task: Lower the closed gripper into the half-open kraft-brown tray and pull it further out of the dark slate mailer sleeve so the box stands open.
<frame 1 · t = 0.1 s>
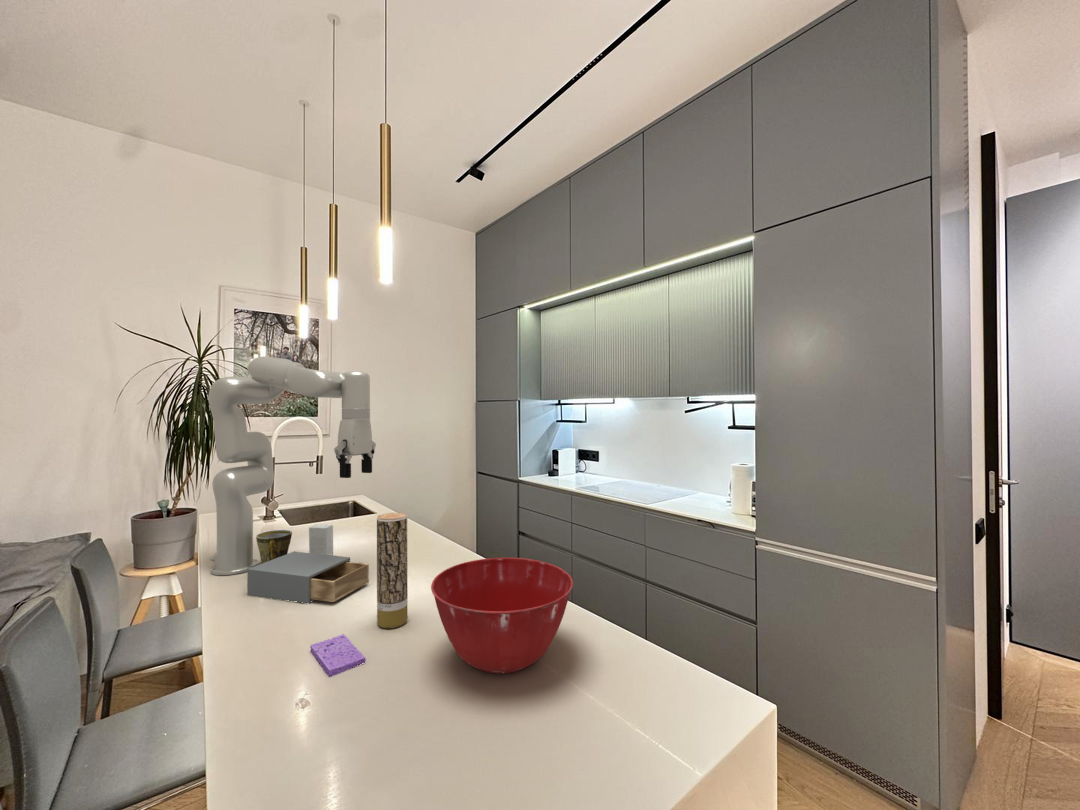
hand: (356, 475, 133), 31 cm above the counter, tool pointing down, fingers open, 9 cm apart
ceramic cup: (273, 567, 148), on the counter
mixing bowl: (503, 656, 95), on the counter
skincare box: (321, 563, 151), on the counter
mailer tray: (322, 578, 128), point 3 cm above the counter, slide at 7.0 cm
paper tube: (392, 623, 109), on the counter
mailer sleeve: (300, 588, 130), on the counter
sponges: (337, 660, 94), on the counter
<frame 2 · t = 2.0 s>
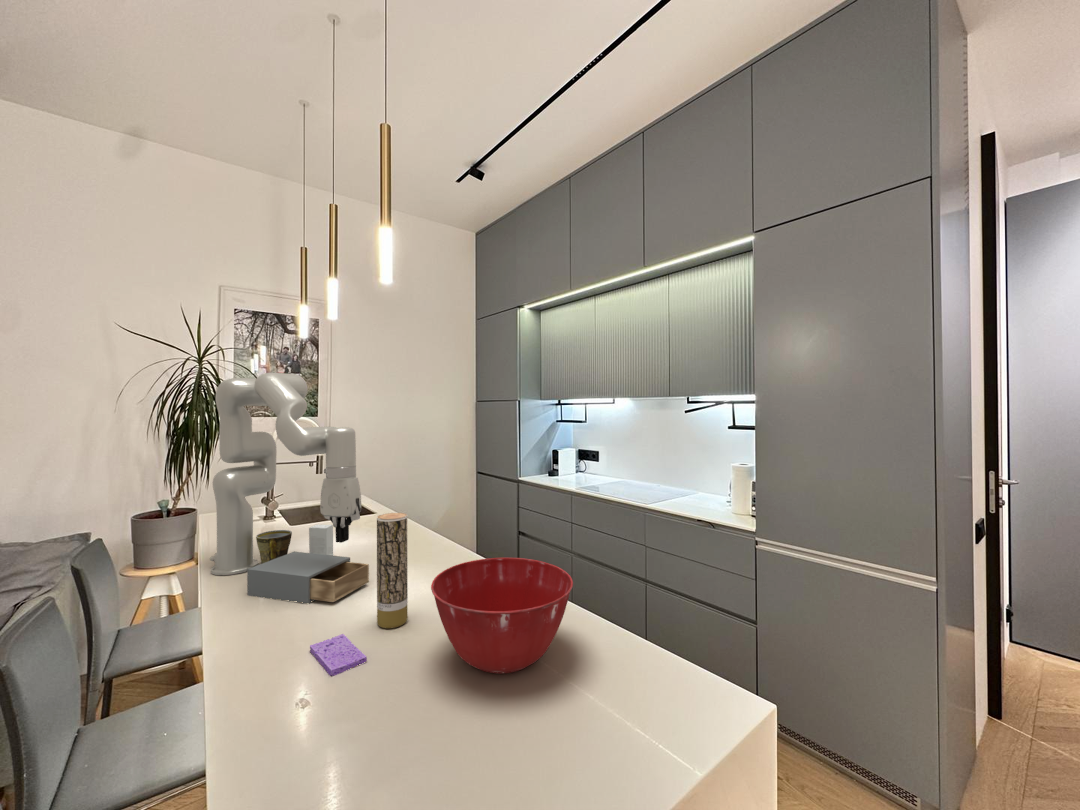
hand: (342, 540, 126), 14 cm above the counter, tool pointing down, fingers closed
nothing on the counter moved.
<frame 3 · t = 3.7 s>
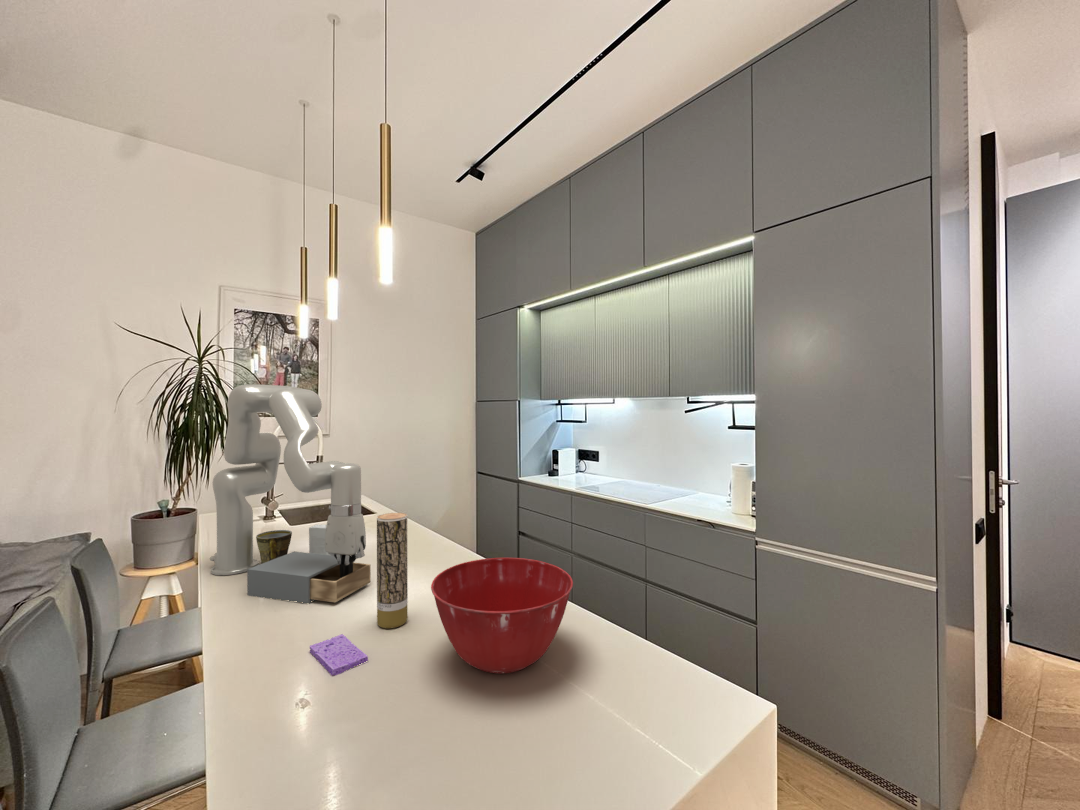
hand: (346, 577, 126), 4 cm above the counter, tool pointing down, fingers closed
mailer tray: (324, 578, 128), point 3 cm above the counter, slide at 7.6 cm, touching gripper
everything else where it was.
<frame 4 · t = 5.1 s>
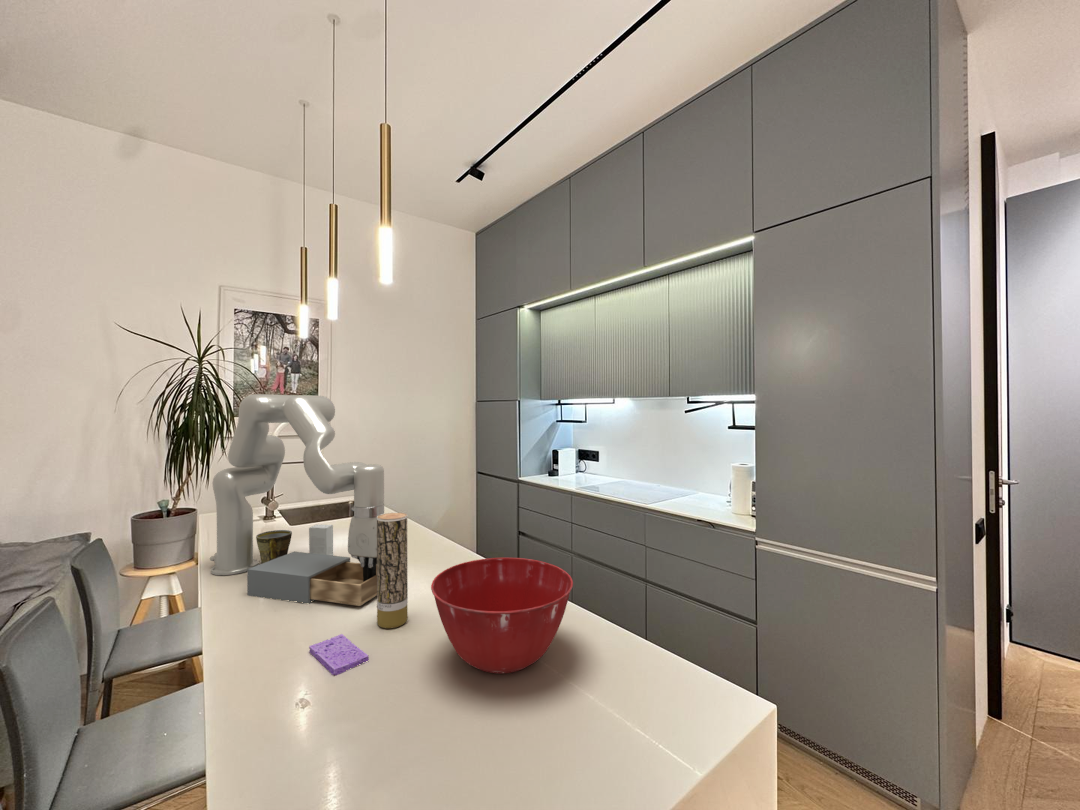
hand: (369, 580, 124), 4 cm above the counter, tool pointing down, fingers closed
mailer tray: (347, 581, 126), point 3 cm above the counter, slide at 14.9 cm, touching gripper
everything else where it was.
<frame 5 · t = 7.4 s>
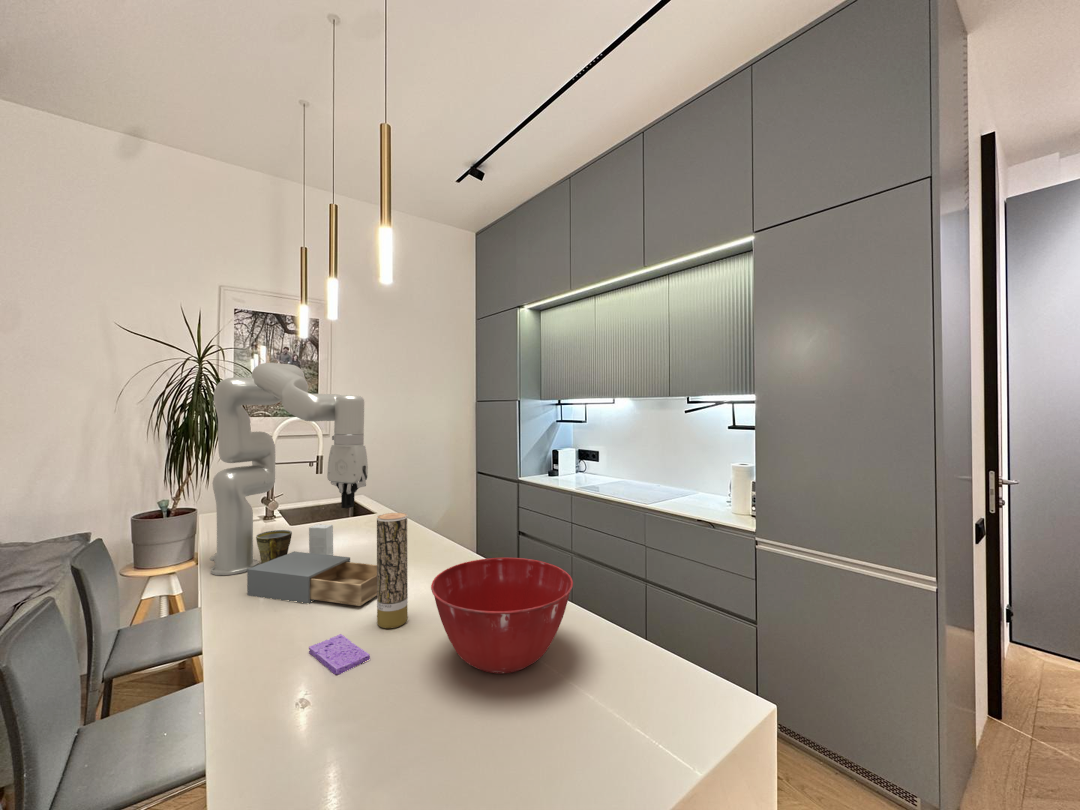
hand: (347, 507, 128), 23 cm above the counter, tool pointing down, fingers closed
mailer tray: (347, 581, 126), point 3 cm above the counter, slide at 14.9 cm
everything else where it was.
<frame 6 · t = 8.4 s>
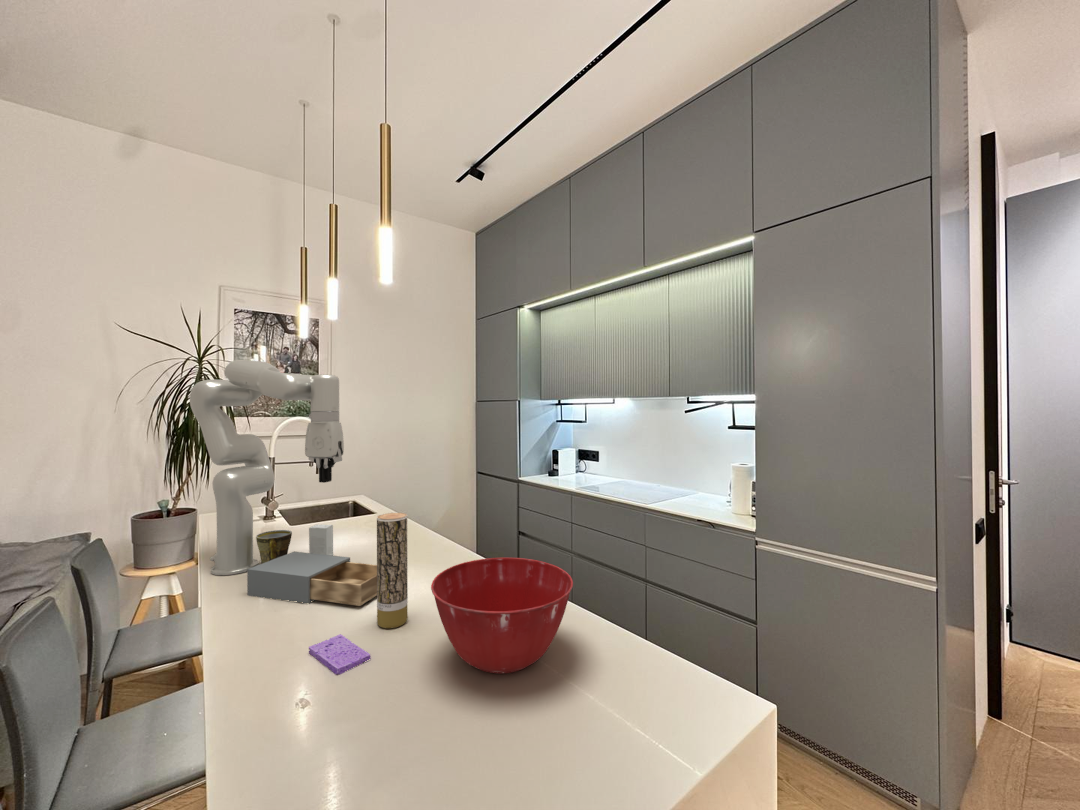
hand: (325, 481, 134), 29 cm above the counter, tool pointing down, fingers closed
nothing on the counter moved.
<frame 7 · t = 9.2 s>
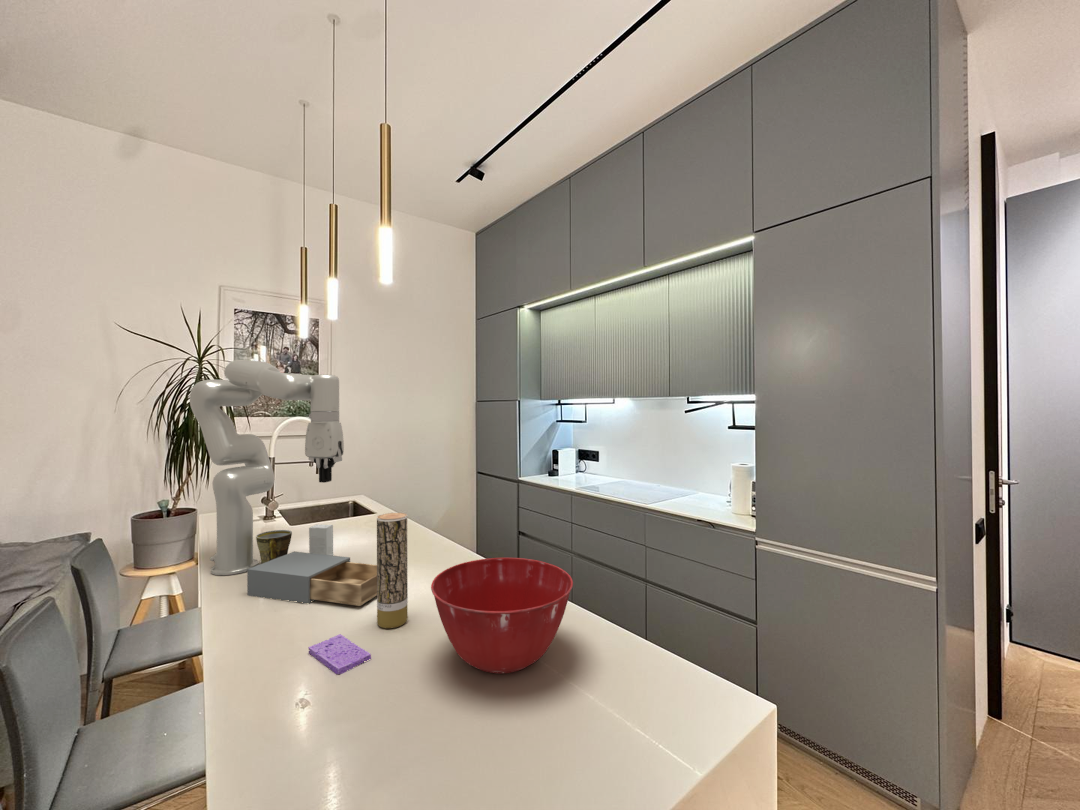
hand: (325, 481, 134), 29 cm above the counter, tool pointing down, fingers closed
nothing on the counter moved.
at the end: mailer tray slide at 14.9 cm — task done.
